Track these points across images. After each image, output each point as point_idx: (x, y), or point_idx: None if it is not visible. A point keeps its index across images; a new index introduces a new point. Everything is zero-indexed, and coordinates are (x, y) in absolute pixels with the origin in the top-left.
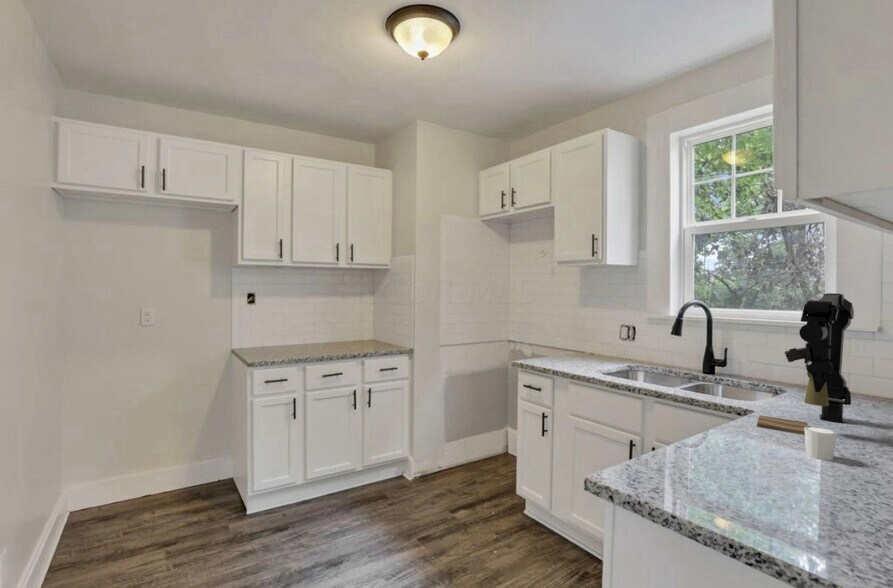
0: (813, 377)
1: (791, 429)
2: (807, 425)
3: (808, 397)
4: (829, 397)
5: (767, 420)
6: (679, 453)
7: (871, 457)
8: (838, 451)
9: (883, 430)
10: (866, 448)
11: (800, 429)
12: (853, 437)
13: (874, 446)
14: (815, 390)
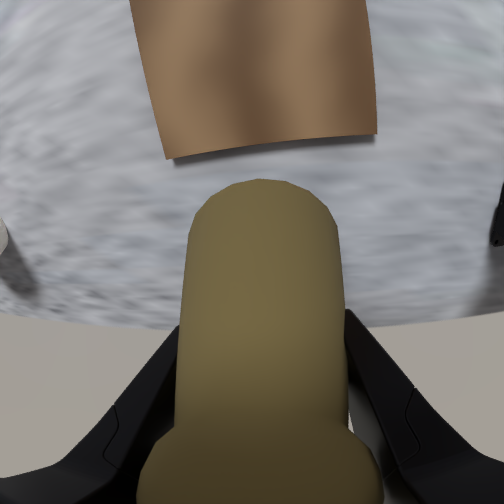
0: (81, 445)
1: (150, 97)
2: (309, 138)
3: (199, 237)
4: None
5: None
6: None
7: (91, 307)
8: (62, 254)
9: (451, 316)
10: (170, 302)
11: (182, 127)
12: None
13: None
14: (172, 334)
